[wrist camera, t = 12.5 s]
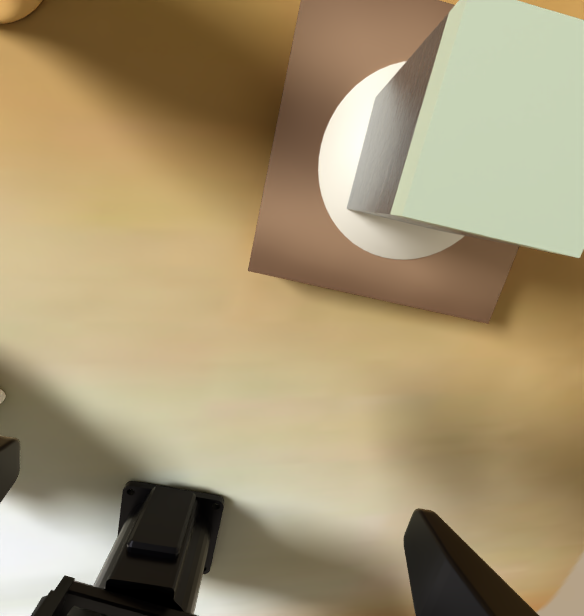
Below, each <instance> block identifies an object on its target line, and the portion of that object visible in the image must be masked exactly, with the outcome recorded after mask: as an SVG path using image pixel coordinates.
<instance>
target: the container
mask: <svg viewBox="0 0 584 616" xmlns="http://www.w3.org/2000/svg"><path fill="white" fill-rule="evenodd" d="M5 397H6V395H5V393H4V392H3V391H2V390H1V389H0V404H1V403H2V402H3V400H4V399H5Z"/></svg>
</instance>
